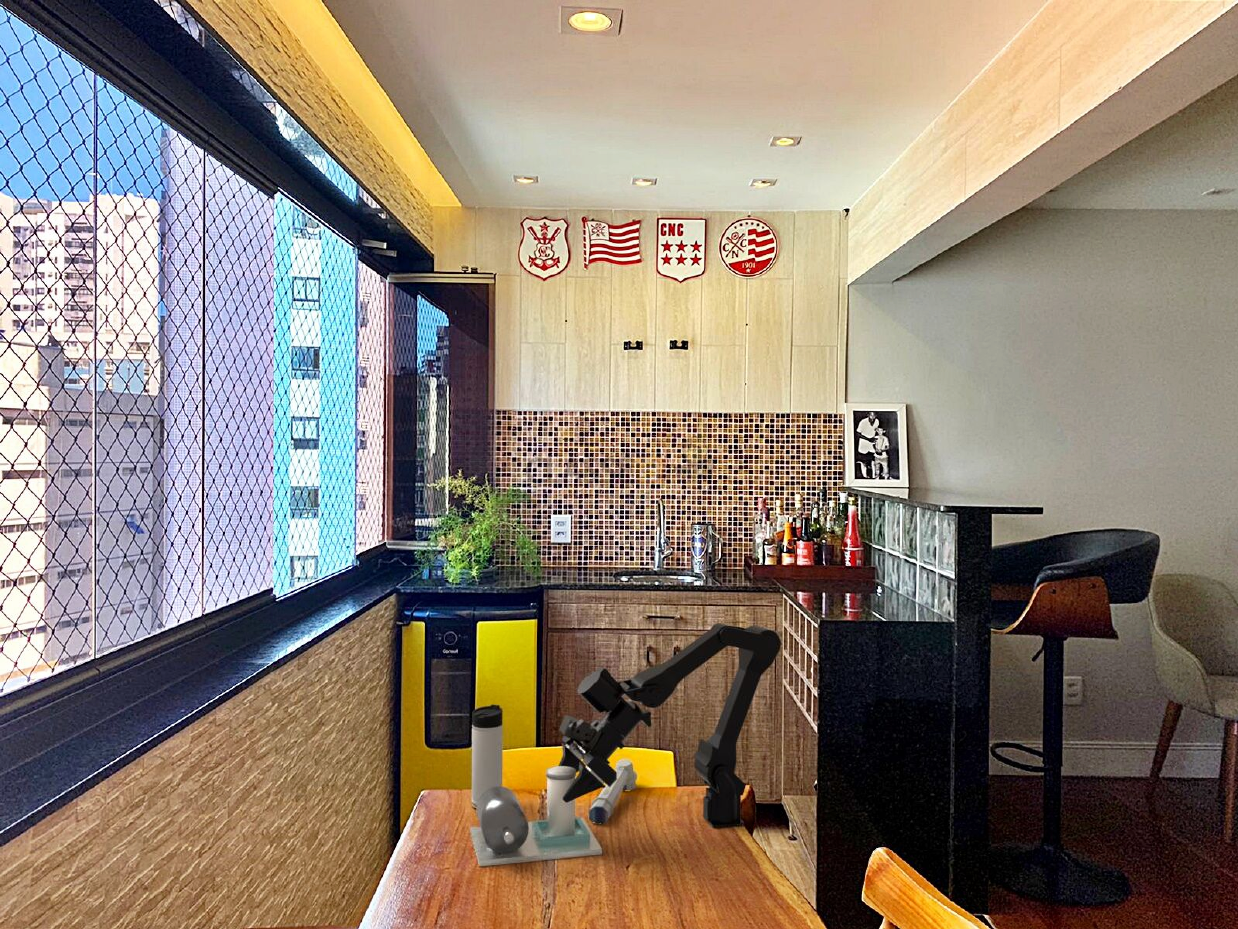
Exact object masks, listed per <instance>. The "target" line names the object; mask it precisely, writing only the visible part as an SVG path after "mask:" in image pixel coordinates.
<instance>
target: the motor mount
mask: <svg viewBox="0 0 1238 929" xmlns="http://www.w3.org/2000/svg"><path fill="white" fill-rule="evenodd" d="M475 810H476V811H475V812H476V816H477V819H478V823H479V826H470V827H469V834H470V833H471V835H470V838H471V837H472V839H471V842H472V841H473V843H472V846H473V845H474V846H473V850H474V849H475V850H474V853H475V852H476V854H475V857H476V856H477V857H476V860H478V861H477V863H478V864H479V865H478V867H479V866H480V867H488V866H498V865H508V864H519V863H528V862H529V863H531V862H541V861H548V860H549V861H550V860H558V859H568V858H580V857H590V856H599V855H600V856H601V855H602V854H603V848H602V847H601V845H600V843H599V841H598V839H597V838H596V837H595V835H594V834H593V831H592V830H591V828H590V827H589V825H588V823H587V822H586V820H585V819H584V817H580V816H575V834H574V835H563V836H552V837H547V819H540V820H532V821H528V820H527V817H526V815H525V813H524V810H523V809H522V806H521V804H520V802H519V799H518V797H517V795H516V793H515V792H514V791H513V790H511V789H510V788H507V787H506V786H502V787H493V788H490V789H488V790H487V791H485V792H484V793H483V794H482V795H481V797H480V798H479V800H478V803H477V808H476V809H475Z"/></svg>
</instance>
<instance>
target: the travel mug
mask: <svg viewBox="0 0 1238 929" xmlns="http://www.w3.org/2000/svg"><path fill="white" fill-rule="evenodd" d="M503 711H504V710H503V708H502V707H501V706H500V705H499V704H490V705H485V706H480V707H478V708H475V709H474V710H473V711H472V714H471V715H472V718H471V721H472V722H471V723H472V725H471V727H472V728H471V805H472V804H473V805H474V806H475V807H477V803H478V800H479V798H480V797H481V795H482V794H483V793H484V792H485V791H487V790H488V789H490V788H493V787H503V762H504V761H503V754H504V753H503V752H504V751H503V748H504V747H503V746H504V745H503V744H504V742H503V740H504V738H503V736H504V735H503V734H504V732H503V731H504V730H503V728H504V727H503V726H504V723H503V713H504V712H503Z"/></svg>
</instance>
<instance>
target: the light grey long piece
mask: <svg viewBox="0 0 1238 929" xmlns="http://www.w3.org/2000/svg"><path fill="white" fill-rule="evenodd" d="M633 765H634V764H633V762H632V760H630V759H628V758H622V759H619V760H617V762H616V764H615V769H614V770H615V771H616V772H617V780H616V781H615V782H614V783H613V784H612V785H611V787H609V786H608V785H607V784H606V783H605V786H606V787H605V788H602V790H601V792H600V793H599V795H598V796H597V797H596V798H595V799H594V800H593V801H592V802H591V807H590V809H589V810H588V820H589V821H590V822H591V823H592V822H595V823H601V824H600V825H602V824H603V825H604V824H606V823H607V822H608V820H609V818H610V817H611V816H612V815H613V814H614V808H615V807H616V803H618V800H619V798H620V796H621V793H623V792H622V790H623V791H625V790H630V791H632V790H634V791H635V789H636V787H637V784H636V783H637V782H636V781H637V779H638V774H637V772H636V771H635V770H634V766H633Z"/></svg>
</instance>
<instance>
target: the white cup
mask: <svg viewBox="0 0 1238 929" xmlns="http://www.w3.org/2000/svg"><path fill="white" fill-rule="evenodd" d="M545 777H546V784H547V785H546V820H547V837H552V836H563V835H574V834H575V817H576V799H574V800H572V801H570V802H567V803H566V802H565V801H564V800H563V799H562V798H563V796H564V795H565V793H566V792H567V790H568V789H569V787H570V786H571V784H572V783H573V782H574V780H575V779H576V777H577V773H576V769H575V768H572V767H568V766H551V767H549V768H547V769H546V770H545Z"/></svg>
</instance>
